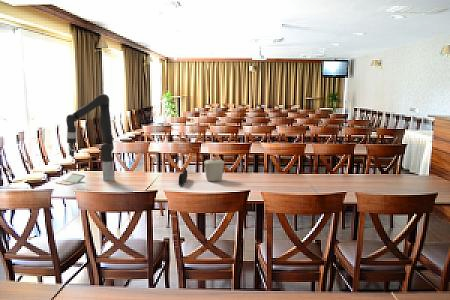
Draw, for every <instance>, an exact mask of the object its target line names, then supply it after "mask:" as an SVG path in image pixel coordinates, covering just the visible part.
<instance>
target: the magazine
mask: <svg viewBox="0 0 450 300" xmlns="http://www.w3.org/2000/svg"><path fill="white" fill-rule="evenodd" d="M187 179H188V169H187V167H183V170H182V172H181V173H179V176H178V186H183V185H185V184H186V181H187Z"/></svg>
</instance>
